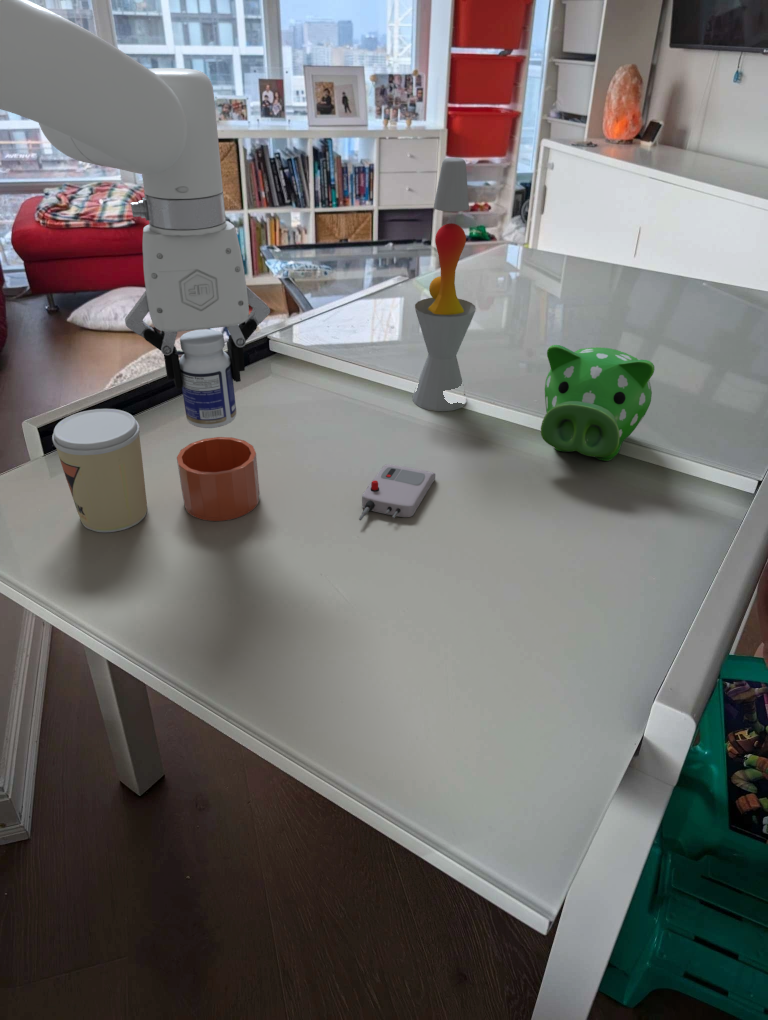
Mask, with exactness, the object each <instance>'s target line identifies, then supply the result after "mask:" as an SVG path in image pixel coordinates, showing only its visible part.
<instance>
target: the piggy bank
mask: <svg viewBox="0 0 768 1020" xmlns="http://www.w3.org/2000/svg"><path fill="white" fill-rule="evenodd" d="M546 355H547V360H548V363H549V367H550V370H549V372H548V373H547V376H546V379H545V384H544V403H545V411H546V413H545V415H544V417H543V419H542V422H541V426H540V435H541V438H542V440H543V441H544V442H545V443H546V444H548V445H549V446H551V447H553V448H554V449H555V450H556V451H558V452H562V453H568V452H569V453H571V452H577V453H578V454H581V455H583V456H586V457H590V458H591V457H592V458H595V459H597V460H598V461H604V462H609V461H612V460H613V459H614V458H615V457H616V456H617V455H618V453H619V452H620V450H621V447H622V444H623V442H624V441H625V440H626V439H627V438H628V437H630V435H631V434H632V433H633V432H634V431H635V430H636V428H638V426H639V424H640V423H641V422H642V420H643V419H644V417H645V415H646V414H647V411H648V409H649V408H650V406H651V402H652V396H653V395H652V394H653V391H652V390H653V389H652V384H651V381H650V380H651V378H652V376H653V375H654V372H655V365H654V363H653V362H652V361H650V360H648V359H639V358H637V357H635V356H633V355H631V354H629V353H626V352H624V351H621V350H618V349H615V348H614V349H613V348H609V347H596V346H595V347H585V348H579V349H577V350H575V351H573V350H571V349H569V348H567V347H566V346H564V345H561V344H553V345H550V346H548V348H547V351H546ZM620 446H621V447H620Z"/></svg>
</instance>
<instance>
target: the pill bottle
mask: <svg viewBox="0 0 768 1020" xmlns="http://www.w3.org/2000/svg"><path fill="white" fill-rule="evenodd" d="M179 342H180V343H179V344H180V349H181V351H182V352H183V354H182V355H181V356H180V357H179V363H180V370H181V377H182V384H183V387H181V390H182V391H181V392H182V396H183V397H182V398H183V403H184V410H185V418H186V420H187V422H188V423H189V424H190V425H192V426H194V427H196V428H202V429H215V428H221V427H224V426H227V425H228V424H230V423H232V422H233V421H234V420H235V419H236V417H237V405H236V395H235V394H236V393H235V386H234V380H233V376H232V367H231V360H230V357H229V355H228V352H226V351H225V350H223V349H224V347H225V346H226V344H225V337H224V334H223V332H221V331H219V330H216V329H211V328H210V329H200V330H189V331H186V332H185V333H183V334H182V335H180V337H179Z"/></svg>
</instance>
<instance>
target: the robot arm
mask: <svg viewBox="0 0 768 1020" xmlns="http://www.w3.org/2000/svg"><path fill="white" fill-rule="evenodd" d="M215 103H216V101H215V94H214V86H213V83H212V81H211V79H210V77H209V76H208V75H207V74H206V73H205V72H203V71H201V70H198V69H193V68H186V67H185V68H183V67H155V68H153V67H152V68H148V67H146V66H145V65H143V64H142V63H140V62H139V61H137V60H136V59H134V58H133V57H132V56H129V55H128V54H127V53H125V52H124V51H122V50H121V49H119V48H118V47H116V46H115V45H113V44H112V43H110V42H109V41H107V40H105V39H103V38H102V37H100V36H99V35H97V34H95V33H93V32H92V31H90V30H88V29H86V28H84V27H82V26H81V25H79V24H77V23H75V22H73V21H71V20H70V19H68V18H66V17H63V16H62V15H59V14H57V13H56V12H54V11H51V10H49V9H47V8H45V7H43V6H41V5H39V4H38V3H34V2H33V1H31V0H0V110H1V111H5V112H7V113H12V114H15V115H16V116H17V115H18V116H20V117H23V118H26V119H28V120H31V121H33V122H35V123H38V125H39V128H40V130H41V132H42V133H43V136H44V137H45V138H46V139H47V141H48V142H49V143H50V144H51V146H53V147H54V148H55V149H56V150H58V151H59V152H61V154H64V155H65V156H67V157H69V158H71V159H73V160H76V161H78V162H83V163H85V164H90V165H91V164H92V165H95V166H100V167H105V168H112V169H116V170H120V171H121V170H122V171H125V172H130V173H134V174H140V175H141V178H142V182H143V183H142V184H143V191H144V193H143V194H144V196H143V197H142V198H141V199H142V200H138V201H133V202H130V205H131V207H130V208H131V213H132V217H133V218H140V219H145V221H148V224H147V225H145V226H144V227H143V230H142V267H143V279H144V286H145V287H144V289H145V291H144V292H143V294H142V295H141V296H140V298H138V301H137V302H136V303H135V304H134V305H133V307H132V308H131V310H130V311H129V312H128V314H127V315H126V317H125V318H124V322H125V326H126V327H127V329H129V330H131V331H132V332H133V333H134V334H137V335H138V336H139V337H142V338H143V339H144V340H145V341H146V342H148V343H149V344H150V345H152V346H153V347H154V348H156V349H158V350H159V351H160V352H161V353H162V355H163V359H164V360H163V361H164V366H165V373H166V377H167V380H169V381H171V380H173V383H174V385H175V389H176V390H182V387H183V384H182V377H181V370H180V363H179V360H180V356H179V353H178V349H177V347H176V346H175V343H176V339H177V335H178V332H190V331H194V330H201V329H210V330H211V329H219V328H226V329H227V331H228V333H229V336H228V339H227V341H226V350H227V354H228V355H229V357H230V360H231V367H232V376H233V382H235V383H239V382H242V381H241V379H242V378H241V372H246V371H245V370H246V368H245V367H246V366H245V356H244V347H245V346H246V344H247V340H249V338H250V337H251V336H252V335H253V334H254V332H255V331H257V329H258V326H259V325H260V324H262V322H263V321H264V320H265V319H266V318H267V317H268V316H269V315H270V313H271V308H270V307H269V305H268V304H267V303H266V302H265V301H264V300H263V299H262V298H261V297H260V296H258V295H257V294H256V293H255V292H254V291H253V290H252V289H250V287H248V286H247V281H246V274H245V267H244V261H243V255H242V250H241V246H240V241H239V237H238V233H237V230H236V227H235V224H233V223H232V222H230V221H228V220H227V219H226V218H227V217H226V210H225V209H226V207H225V197H224V186H223V175H222V164H221V153H220V143H219V131H218V123H217V114H216V113H217V112H216V104H215ZM249 307H251V308H252V309H251V311H250V308H249ZM148 314H149V316H150V320H151V322H152V325H153V326H154V327H153V326H151V325H150V324H147V323H146V322H145V321H144V319H145V317H147V315H148Z"/></svg>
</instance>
